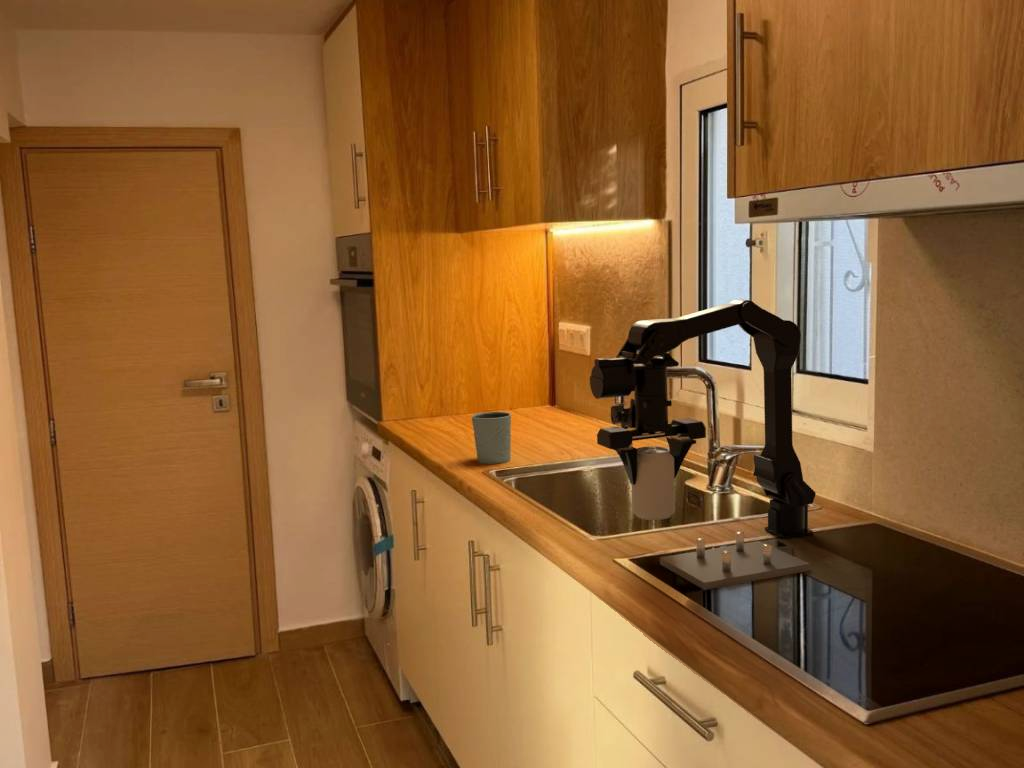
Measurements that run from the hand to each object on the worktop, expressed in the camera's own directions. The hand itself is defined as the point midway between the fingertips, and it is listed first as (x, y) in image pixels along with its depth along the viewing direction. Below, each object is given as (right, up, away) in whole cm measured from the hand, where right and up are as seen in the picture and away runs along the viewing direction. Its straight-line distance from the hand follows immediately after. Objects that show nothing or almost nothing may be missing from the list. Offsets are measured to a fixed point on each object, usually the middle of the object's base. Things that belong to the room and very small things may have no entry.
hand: (653, 481), depth 171 cm
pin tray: (+12, -14, -8) cm, 20 cm away
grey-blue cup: (-30, -3, +81) cm, 87 cm away
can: (0, -6, +1) cm, 6 cm away
